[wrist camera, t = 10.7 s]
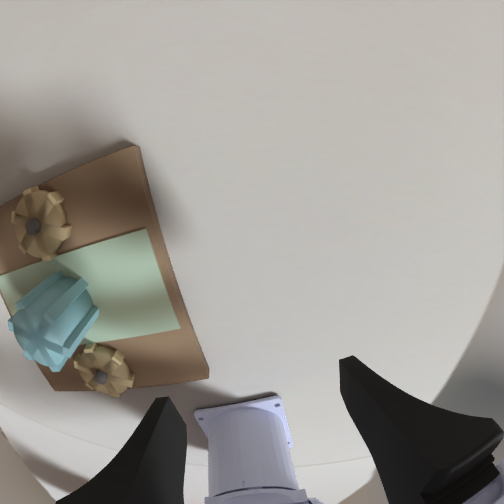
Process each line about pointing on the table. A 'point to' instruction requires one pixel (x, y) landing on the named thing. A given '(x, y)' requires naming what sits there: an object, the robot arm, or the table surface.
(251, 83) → the table surface
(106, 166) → the gear board
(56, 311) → the teal gear
